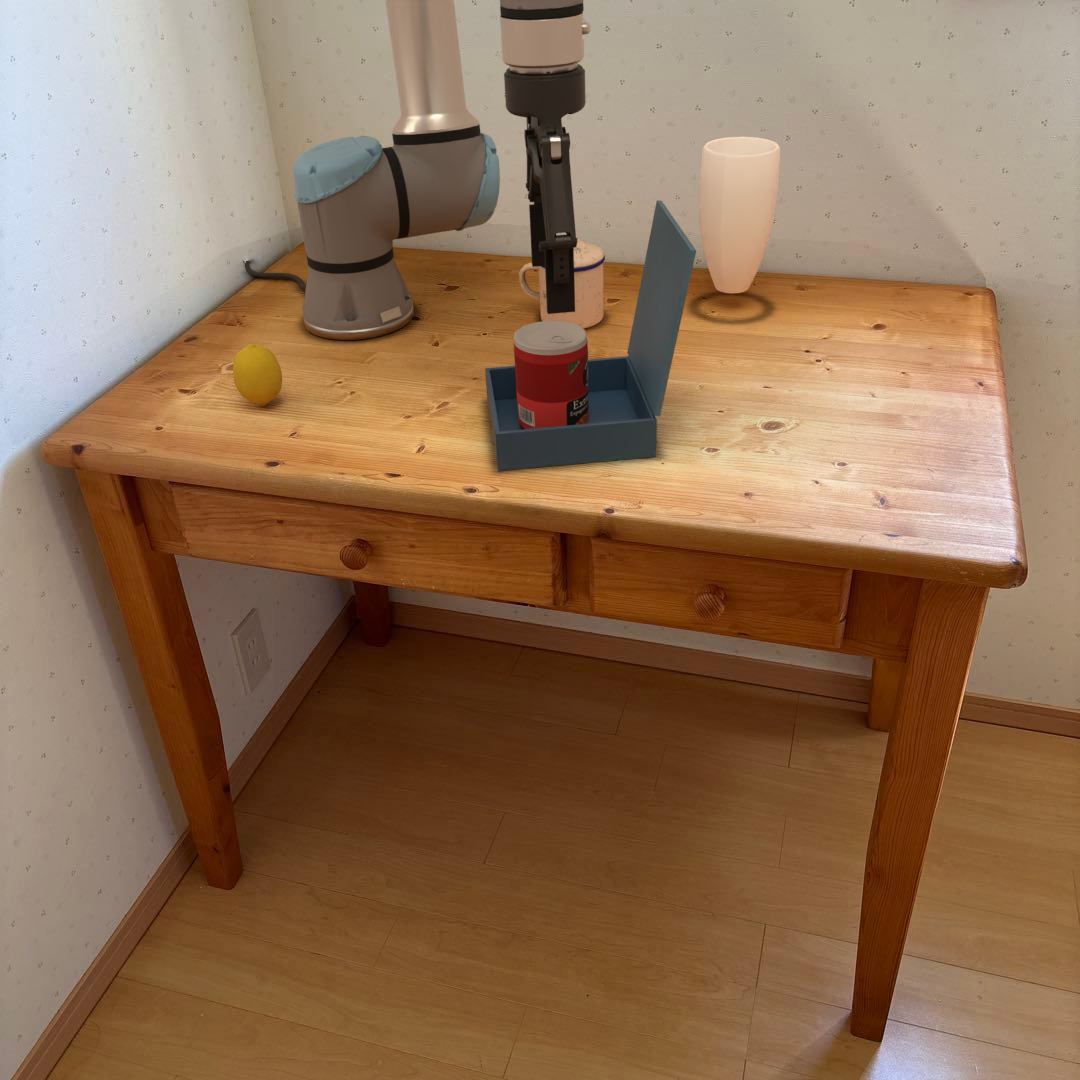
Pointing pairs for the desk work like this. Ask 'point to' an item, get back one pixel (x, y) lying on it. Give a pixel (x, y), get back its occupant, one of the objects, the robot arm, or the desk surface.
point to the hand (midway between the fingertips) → (552, 287)
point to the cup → (737, 207)
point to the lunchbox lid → (660, 304)
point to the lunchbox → (609, 435)
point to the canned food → (551, 374)
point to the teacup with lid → (586, 287)
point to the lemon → (257, 374)
